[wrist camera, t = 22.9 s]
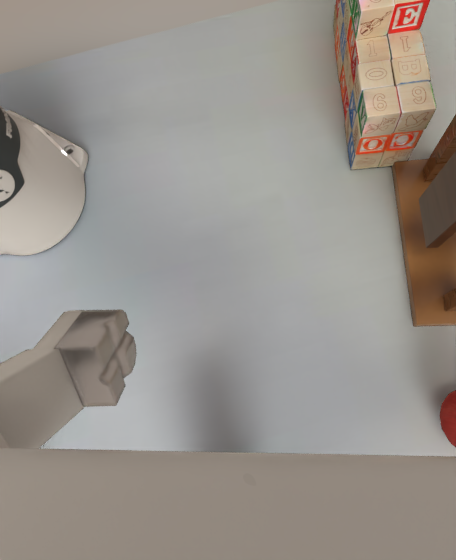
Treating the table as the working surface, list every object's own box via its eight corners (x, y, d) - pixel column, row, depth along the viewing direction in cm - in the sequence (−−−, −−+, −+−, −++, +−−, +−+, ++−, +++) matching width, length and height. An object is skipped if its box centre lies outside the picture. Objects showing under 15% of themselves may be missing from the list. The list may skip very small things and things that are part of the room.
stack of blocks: (407, 165, 43) (450, 84, 31) (349, 171, 44) (370, 94, 32) (382, 16, 49) (411, -100, 37) (331, 24, 50) (344, -87, 38)
